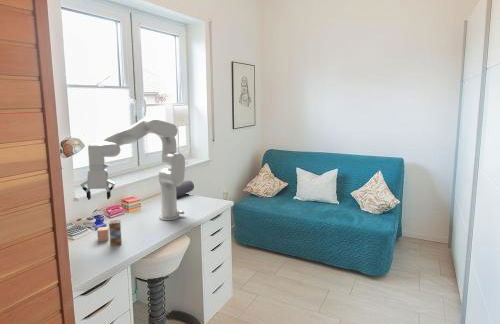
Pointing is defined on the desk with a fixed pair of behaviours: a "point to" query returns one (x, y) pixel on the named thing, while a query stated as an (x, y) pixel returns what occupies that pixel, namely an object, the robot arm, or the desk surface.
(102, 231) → the terracotta cube
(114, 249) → the desk surface
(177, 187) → the bluetooth speaker
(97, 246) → the desk surface
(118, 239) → the tower
